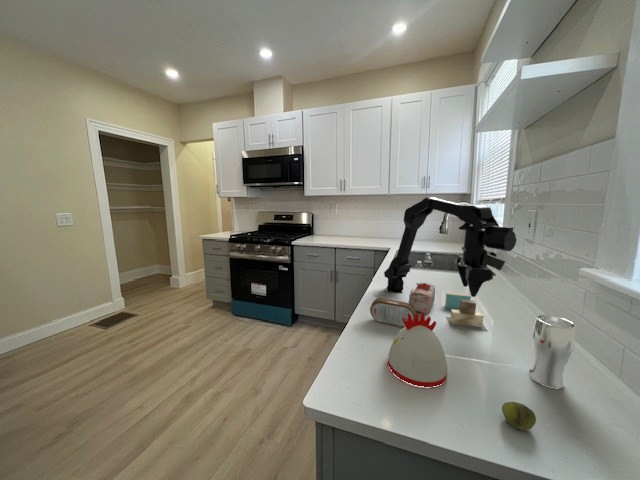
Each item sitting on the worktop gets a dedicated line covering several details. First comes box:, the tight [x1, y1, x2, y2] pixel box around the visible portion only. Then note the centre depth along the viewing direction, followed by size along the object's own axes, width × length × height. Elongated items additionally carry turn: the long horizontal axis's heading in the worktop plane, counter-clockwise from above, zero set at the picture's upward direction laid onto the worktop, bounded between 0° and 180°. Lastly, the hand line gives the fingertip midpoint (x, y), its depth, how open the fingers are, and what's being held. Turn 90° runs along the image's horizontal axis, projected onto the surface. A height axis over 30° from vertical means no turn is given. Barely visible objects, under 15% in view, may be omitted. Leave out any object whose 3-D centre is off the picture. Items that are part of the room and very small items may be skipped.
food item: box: [408, 282, 436, 315], centre depth 96 cm, size 14×8×10 cm, turn 147°
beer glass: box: [528, 314, 577, 389], centre depth 57 cm, size 7×7×15 cm
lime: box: [501, 401, 537, 431], centre depth 46 cm, size 4×5×5 cm
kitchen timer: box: [387, 311, 448, 387], centre depth 62 cm, size 14×14×15 cm
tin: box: [369, 297, 417, 328], centre depth 84 cm, size 15×3×8 cm, turn 65°
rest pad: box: [445, 316, 489, 332], centre depth 84 cm, size 11×7×1 cm, turn 74°
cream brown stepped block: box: [450, 299, 484, 327], centre depth 83 cm, size 9×2×8 cm, turn 74°
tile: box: [444, 292, 472, 310], centre depth 95 cm, size 8×2×6 cm, turn 74°
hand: (469, 291), depth 82 cm, fingers open, 9 cm apart
